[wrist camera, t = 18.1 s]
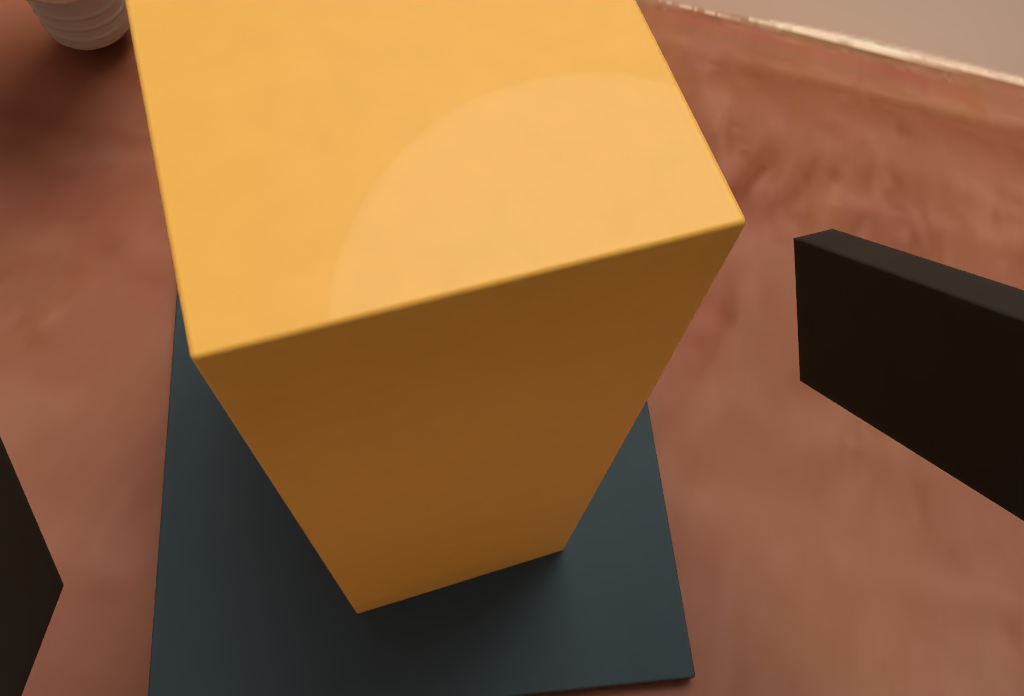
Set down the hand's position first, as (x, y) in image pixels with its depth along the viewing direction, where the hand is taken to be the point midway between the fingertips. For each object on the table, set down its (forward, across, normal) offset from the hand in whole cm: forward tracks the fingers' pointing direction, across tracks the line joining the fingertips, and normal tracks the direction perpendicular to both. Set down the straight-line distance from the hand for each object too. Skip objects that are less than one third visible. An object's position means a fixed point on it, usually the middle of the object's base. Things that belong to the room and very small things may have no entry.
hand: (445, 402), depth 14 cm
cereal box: (+7, 0, -3) cm, 8 cm away
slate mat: (+7, 0, -3) cm, 8 cm away
